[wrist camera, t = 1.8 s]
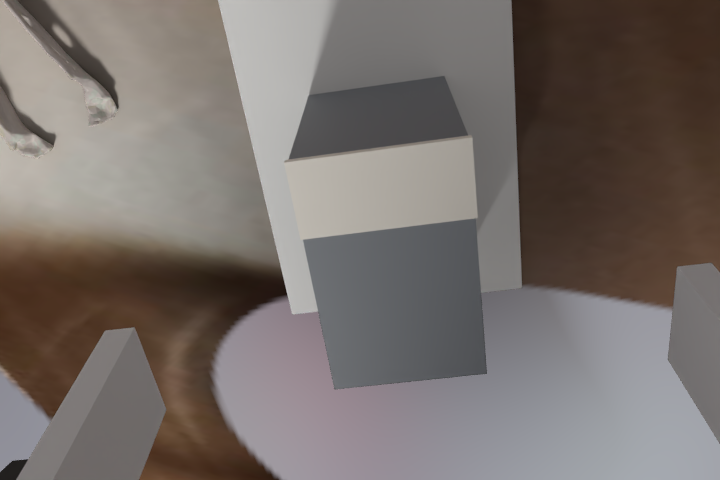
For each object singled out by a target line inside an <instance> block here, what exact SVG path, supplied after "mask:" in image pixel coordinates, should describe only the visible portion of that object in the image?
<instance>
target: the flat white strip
mask: <svg viewBox="0 0 720 480" xmlns="http://www.w3.org/2000/svg"><path fill="white" fill-rule="evenodd" d="M218 2H219V6H220V10H221V15H222V19H223V23H224V27H225V32H226V36H227V40H228V44H229V49H230V53H231V57H232V61H233V65H234V70H235V74H236V78H237V82H238V87H239V91H240V95H241V99H242V104H243V108H244V112H245V116H246V121H247V125H248V129H249V133H250V138H251V142H252V146H253V150H254V155H255V159H256V163H257V167H258V172H259V176H260V180H261V184H262V189H263V193H264V197H265V201H266V206H267V210H268V214H269V218H270V223H271V227H272V231H273V235H274V240H275V244H276V248H277V252H278V257H279V261H280V265H281V269H282V274H283V278H284V282H285V286H286V291H287V295H288V299H289V303H290V307H291V312H292V314H301V313H310V312H318V309H317V304H316V299H315V294H314V290H313V285H312V280H311V276H310V271H309V266H308V262H307V257H306V252H305V247H304V243H303V240H300V235H299V231H298V226H297V221H296V217H295V212H294V207H293V203H292V198H291V193H290V189H289V184H288V179H287V175H286V170H285V165H284V161H285V160H288V159H289V156H290V153H291V150H292V147H293V143H294V140H295V137H296V134H297V131H298V128H299V124H300V121H301V118H302V115H303V112H304V109H305V105H306V102H307V99H308V96H309V95H313V94H320V93H327V92H335V91H342V90H349V89H356V88H363V87H370V86H377V85H384V84H391V83H398V82H405V81H412V80H419V79H426V78H433V77H440V76H445V79H446V81H447V84H448V86H449V89H450V91H451V94H452V96H453V99H454V101H455V104H456V106H457V109H458V111H459V114H460V116H461V119H462V121H463V124H464V126H465V128H466V131H467V133H468V135H471V136H472V140H473V155H474V169H475V183H476V198H477V212H478V218H476V229H477V243H478V257H479V271H480V285H481V293H486V292H493V291H503V290H512V289H521V288H522V276H521V249H520V221H519V194H518V167H517V139H516V112H515V84H514V57H513V29H512V2H511V0H218Z"/></svg>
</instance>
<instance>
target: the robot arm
mask: <svg viewBox="0 0 720 480" xmlns="http://www.w3.org/2000/svg"><path fill="white" fill-rule="evenodd" d="M668 361H669V362H670V364H671V365H672V367H673V369H674V370H675V372H676V373H677V375H678V377H679V378H680V380H681V381H682V383H683V385H684V386H685V388H686V390H687V391H688V393H689V395H690V396H691V398H692V399H693V401H694V403H695V404H696V406H697V407H698V409H699V411H700V412H701V414H702V415H703V417H704V419H705V421H706V422H707V424H708V425H709V427H710V429H711V430H712V432H713V433H714V435H715V437H716V438H717V440H718V441H719V443H720V272H719V271H718V270H717V269H716V267H715V266H714V265H713V264H712V263H705V264H696V265H687V266H678V267H677V273H676V283H675V293H674V303H673V313H672V323H671V333H670V343H669V352H668ZM165 412H166V408H165V405H164V402H163V400H162V397H161V395H160V392H159V389H158V387H157V384H156V382H155V379H154V377H153V374H152V371H151V369H150V366H149V364H148V361H147V358H146V356H145V353H144V351H143V348H142V345H141V343H140V340H139V338H138V335H137V333H136V330H135V327H134V328H125V329H116V330H107V331H105V332H104V334H103V335H102V337H101V339H100V340H99V342H98V344H97V345H96V347H95V349H94V350H93V352H92V354H91V355H90V357H89V359H88V360H87V362H86V364H85V365H84V367H83V369H82V370H81V372H80V374H79V375H78V377H77V379H76V380H75V382H74V384H73V385H72V387H71V389H70V390H69V392H68V394H67V395H66V397H65V399H64V400H63V402H62V404H61V406H60V407H59V409H58V411H57V412H56V414H55V416H54V417H53V419H52V421H51V422H50V424H49V426H48V427H47V429H46V431H45V432H44V434H43V436H42V437H41V439H40V441H39V442H38V444H37V446H36V447H35V449H34V451H33V452H32V454H31V456H30V457H29V459H27V460H17V461H12V462H11V463H10V464H9V465H7V466H6V467H5V468H4V469H3V470H2V471H1V472H0V480H139V478H140V475H141V473H142V470H143V468H144V465H145V463H146V460H147V458H148V455H149V453H150V450H151V447H152V445H153V442H154V440H155V437H156V435H157V432H158V430H159V427H160V424H161V422H162V419H163V417H164V414H165Z"/></svg>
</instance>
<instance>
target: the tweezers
mask: <svg viewBox="0 0 720 480" xmlns="http://www.w3.org/2000/svg"><path fill="white" fill-rule="evenodd" d="M2 1H3V3H4V4H5V6H6V7H7V8H8V9H9V11H10V12H11V13H12V14H13V15H14V17H15V18H16V19H17V20H18V21H19V23H20V24H21V25H22V26H23V27H24V28H25V30H26V31H27V32H28V33H29V34H30V35H31V36H32V37H33V38H34V39H35V41H36V42H37V43H38V44H39V45H40V46H41V47H42V48H43V50H44V51H45V52H46V53H47V54H48V55H49V56H50V57H51V58H52V59H53V60H54V61H55V62H56V63H57V64H58V65H59V66H60V68H61V69H62V70H63V71H65V73H66V74H67V76H68V77H69V78H70V79H72V80H76V81H77V82H78V83H79V84H81V86H82V88H83V90H84V95H85V103H86V108H87V110H88V113H89V126H90V127H94V126H96V125H97V124H100V123H104V122H106V121H107V120H108V119H112V118H114V117H115V114H116V112H117V111H118V110H117V107H116V104H115V102H114V100H113V99H112V97H111V95H110V94H109V93H108V91H107V90H106V89H105V88H104V87H103V86H102V85H101V84H100V83H99V82H97V81H96V80H95V79H94V78H92V77H91V76H90V75H89V74H87V73H86V72H85V71H84V70H83V69H82V68H81V67H80V66H79V65H78V64H77V63H76V62H75V61H74V60H73V59H72V58H71V57H70V56H69V55H67V53H66V52H65V51H64V50H63V49H62V48H61V47H60V45H59V44H58V43H57V42H56V41H55V40H54V39H53V38H52V37H51V35H50V34H49V33H48V32H47V31H46V30H45V29H44V28H43V27H42V26H41V25H40V24H39V23H38V22H37V20H36V19H35V18H34V17H33V16H32V15H31V14H30V13H29V12H28V11H27V10H26V9H25V8H24V7H23V6H22V5H21V4H20V3H19V2H18V1H17V0H2ZM0 135H1V136H2V138H3V139H4V140H5V141H6V143H7V144H8V146H9V148H10V150H12V151H14V150H17V151H18V152H19V153H20V154H21V155H23V156H28V157H31V158H40V156H42V155H45V154H46V153H47V152H48V151H51V150H52V148H53V147H54V146H53V145H52V144H50V143H48V142H47V141H45V140H43V139H42V138H40V137H39V136H37V135H36V134H34V133H32V132H31V131H30V130H28V129H27V128H26V127H25V126H24V125H23V123H22V122H21V120H20V118H19V117H18V115H17V114H16V112H15V110H14V108H13V107H12V105H11V103H10V101H9V99H8V98H7V96H6V94H5V92H4V91H3V89H2V87H1V85H0Z"/></svg>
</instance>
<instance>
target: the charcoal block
mask: <svg viewBox="0 0 720 480" xmlns="http://www.w3.org/2000/svg"><path fill="white" fill-rule="evenodd" d="M284 165H285V170H286V175H287V179H288V184H289V189H290V193H291V198H292V203H293V207H294V212H295V217H296V221H297V226H298V231H299V235H300V240H303V243H304V247H305V252H306V257H307V262H308V266H309V271H310V276H311V280H312V285H313V290H314V294H315V299H316V304H317V309H318V313H319V318H320V323H321V327H322V332H323V337H324V342H325V346H326V351H327V355H328V360H329V365H330V370H331V374H332V379H333V384H334V389H343V388H352V387H362V386H372V385H381V384H392V383H400V382H411V381H420V380H430V379H439V378H448V377H458V376H468V375H478V374H487V370H486V355H485V342H484V328H483V314H482V300H481V285H480V271H479V257H478V243H477V229H476V218H478V212H477V198H476V183H475V169H474V155H473V140H472V136H471V135H468V133H467V131H466V128H465V126H464V124H463V121H462V119H461V116H460V114H459V111H458V109H457V106H456V104H455V101H454V99H453V96H452V94H451V91H450V89H449V86H448V84H447V81H446V79H445V76H440V77H433V78H426V79H419V80H412V81H405V82H398V83H391V84H384V85H377V86H370V87H363V88H356V89H349V90H342V91H335V92H327V93H320V94H313V95H309V96H308V99H307V102H306V105H305V109H304V112H303V115H302V118H301V121H300V124H299V128H298V131H297V134H296V137H295V140H294V143H293V147H292V150H291V153H290V156H289V159H288V160H285V161H284Z"/></svg>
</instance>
